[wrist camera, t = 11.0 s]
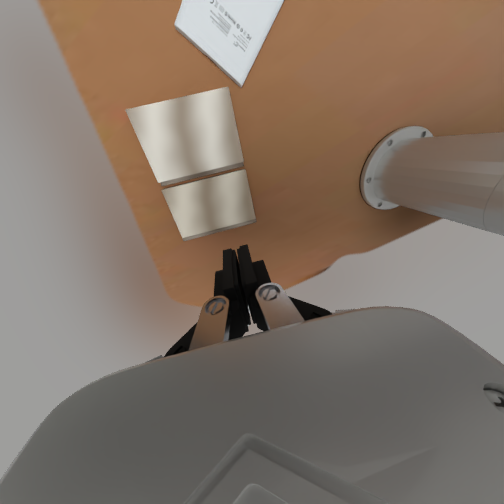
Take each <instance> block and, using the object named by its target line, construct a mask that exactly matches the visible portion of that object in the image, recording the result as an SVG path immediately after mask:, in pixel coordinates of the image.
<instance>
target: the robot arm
mask: <svg viewBox="0 0 504 504" xmlns="http://www.w3.org/2000/svg"><path fill="white" fill-rule="evenodd" d="M360 187H361V193H362V196H363V198H364V200H365V201H366V203H367V204H368V205H370V206H372V207H374V208H377V209H382V210H387V209H392V208H396V207H398V206H404V207H407V208H410V209H414V210H417V211H421V212H424V213H427V214H431V215H434V216H438V217H441V218H445V219H448V220H451V221H455V222H458V223H462V224H465V225H469V226H472V227H476V228H479V229H482V230H485V231H489V232H493V233H496V234H500V235H503V236H504V132H496V133H481V134H466V135H452V136H437V137H433V135H432V133H431V132H430V131H429V130H428V129H426V128H424V127H421V126H409V127H404V128H400V129H398V130H396V131H394V132H392V133H390V134H389V135H388V136H386V137H385V138H384V139H383V140H382V141H381V142H379V143H378V145H377V146H376V147H375V148H374V150H373V151H372V152H371V154H370V156H369V157H368V159H367V161H366V163H365V165H364V168H363V171H362V175H361V181H360ZM237 253H238V259H237V256H236V252H235V250H232V249H227V250H223V270H220V271H216V273H215V286H214V297H212V298H210V299H209V300H207V301H206V302H205V303H204V305H203V307H202V310H201V313H200V316H199V319H198V322H197V323H196V324H195V325H194V326H193V327H192V328H191V329H190V330H189V331H188V332H187V333H186V334H185V335H184V336H183V337H182V338H181V339H180V340H179V341H178V342H177V343H176V344H174V346H172V348H170V350H169V351H168V352H167V353H166V355H165V356H164V357H163V356H162V355H160V356H158V357H156V358H154V359H152V360H150V361H147V362H145V363H142V364H139V365H136V366H132V367H129V368H126V369H123V370H119V371H117V372H114V373H112V374H109V375H107V376H104V377H102V378H100V379H98V380H96V381H94V382H92V383H90V384H88V385H87V386H85V387H83V388H81V389H80V390H78V391H76V392H75V393H74V394H72V395H71V396H69V397H68V398H66V399H65V400H64V401H62V402H61V403H60V404H59V405H58V406H57V407H56V408H55V409H53V410H52V412H51V413H50V414H49V415H48V416H47V417H46V418H45V419H44V421H43V422H42V423H41V424H40V426H39V427H38V428H37V429H36V431H35V432H34V433H33V435H32V436H31V437H30V439H29V440H28V441H27V443H26V444H25V446H24V447H23V448H22V450H21V451H20V452H19V454H18V455H17V457H16V458H15V459H14V461H13V462H12V464H11V465H10V467H9V468H8V469H7V471H6V472H5V474H4V475H3V477H2V478H1V480H0V504H504V365H503V364H502V363H501V362H499V361H498V360H497V359H495V358H494V357H493V356H491V355H490V354H489V353H488V352H486V351H485V350H484V349H482V348H481V347H480V346H478V345H477V344H475V343H474V342H473V341H471V340H470V339H468V338H467V337H465V336H464V335H463V334H461V333H460V332H458V331H457V330H455V329H454V328H452V327H451V326H449V325H448V324H446V323H445V322H443V321H441V320H439V319H438V318H436V317H434V316H432V315H430V314H427V313H425V312H422V311H419V310H415V309H410V308H403V307H389V306H385V307H368V308H361V309H351V310H336V311H335V313H331V312H329V311H328V310H326V309H323V308H320V307H317V306H315V305H312V304H309V303H306V302H303V301H301V300H297V299H294V298H292V297H289V296H287V294H286V293H285V291H284V290H283V288H282V287H281V286H280V285H278V284H276V283H271V280H270V277H269V275H268V272H267V269H266V266H265V264H264V261H263V260H260V261H256V262H252V261H251V257H250V253H249V249H248V245H243V246H240V249H237ZM238 260H239V262H238ZM248 307H249V308H248ZM249 310H250V313H251V316H252V320H253V323H254V324H255V323H256V324H257V327H258V328H259V329H261V330H263V331H264V332H260V333H256V334H252V335H248V336H244V337H242V336H243V335H244V333H245V332H247V331H248V325H250V324H251V321H250V314H249Z"/></svg>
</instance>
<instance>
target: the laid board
mask: <svg viewBox="0 0 504 504" xmlns="http://www.w3.org/2000/svg"><path fill="white" fill-rule="evenodd" d="M126 113H127V115H128V117H129V119H130V121H131V124H132V126H133V128H134V130H135V133H136V135H137V137H138V139H139V141H140V144H141V146H142V148H143V150H144V152H145V155H146V157H147V159H148V161H149V164H150V166H151V168H152V170H153V172H154V175H155V177H156V179H157V181H158V183H161V185H162V186H165V185H169V184H173V183H177V182H181V181H186V180H190V179H194V178H198V177H202V176H206V175H210V174H214V173H218V172H222V171H226V170H230V169H234V168H238V167H242V166H244V164H243V162H244V160H243V155H242V150H241V145H240V141H239V136H238V131H237V126H236V121H235V116H234V112H233V107H232V102H231V97H230V92H229V87H224V88H220V89H215V90H211V91H207V92H202V93H198V94H193V95H189V96H184V97H180V98H175V99H171V100H167V101H162V102H158V103H153V104H149V105H144V106H140V107H135V108H131V109H126Z"/></svg>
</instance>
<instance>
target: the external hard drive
mask: <svg viewBox="0 0 504 504" xmlns="http://www.w3.org/2000/svg"><path fill="white" fill-rule="evenodd" d="M283 2H284V0H182V4H181V7H180V10H179V12H178V15H177V18H176V21H175V28H176V30H178V31H179V32H180V33H181V34H182V35H183V36H184V37H185V38H187V39H188V40H189V41H190V42H191V43H192V44H193V45H194V46H195V47H196V48H198V49H199V50H200V51H201V52H202V53H203V54H204V55H206V56H208V57H209V58H210V59H211V60H212V61H213V62H214V63H215V64H216V65H217V66H218V67H219V68H220V69H221V70H222V71H223V72H224V73H225V74H226V75H227V76H229V77H230V78H231V79H232V80H233V81H234V82H235V83H236V84H237V85H238V86H240V87H241V88H242V86H243V84H244V82H245V79H246V77H247V75H248V73H249V71H250V69H251V67H252V65H253V63H254V61H255V59H256V57H257V55H258V53H259V51H260V49H261V47H262V45H263V43H264V41H265V39H266V37H267V35H268V32H269V30H270V28H271V26H272V24H273V22H274V20H275V18H276V16H277V14H278V12H279V10H280V8H281V6H282V4H283Z"/></svg>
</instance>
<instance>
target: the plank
mask: <svg viewBox="0 0 504 504" xmlns="http://www.w3.org/2000/svg"><path fill="white" fill-rule="evenodd" d="M162 193H163V195H164V197H165V199H166V202H167V204H168V206H169V208H170V211H171V213H172V215H173V218H174V220H175V222H176V224H177V227H178V229H179V231H180V233H181V236H182V239H183V241H187V240H191V239H194V238H198V237H202V236H206V235H210V234H213V233H217V232H221V231H225V230H229V229H232V228H236V227H240V226H244V225H248V224H251V223H255V222H257V221H256V217H255V212H254V208H253V203H252V198H251V193H250V189H249V184H248V179H247V174H246V170H245V169H242V170H238V171H234V172H230V173H226V174H222V175H218V176H214V177H210V178H206V179H201V180H197V181H193V182H189V183H185V184H181V185H177V186H173V187H169V188H165V189H163V190H162Z"/></svg>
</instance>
